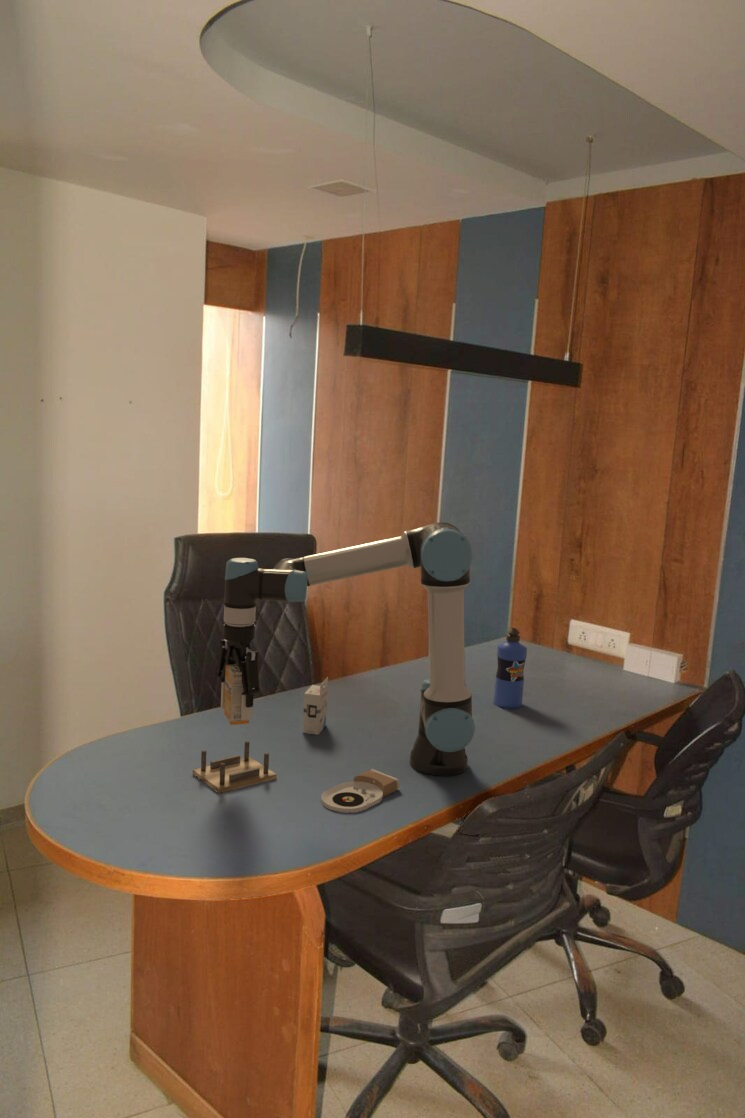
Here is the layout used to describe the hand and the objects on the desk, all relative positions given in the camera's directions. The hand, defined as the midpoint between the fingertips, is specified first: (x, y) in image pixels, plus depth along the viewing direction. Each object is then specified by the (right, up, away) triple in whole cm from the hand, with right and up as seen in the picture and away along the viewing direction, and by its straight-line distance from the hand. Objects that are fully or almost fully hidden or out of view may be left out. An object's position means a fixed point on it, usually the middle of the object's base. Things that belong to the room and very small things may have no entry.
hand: (236, 713), depth 216 cm
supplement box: (0, -2, 0) cm, 2 cm away
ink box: (+16, -11, +38) cm, 43 cm away
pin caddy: (-1, -16, +3) cm, 16 cm away
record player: (+30, -20, -4) cm, 36 cm away
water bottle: (+77, -10, +70) cm, 104 cm away
